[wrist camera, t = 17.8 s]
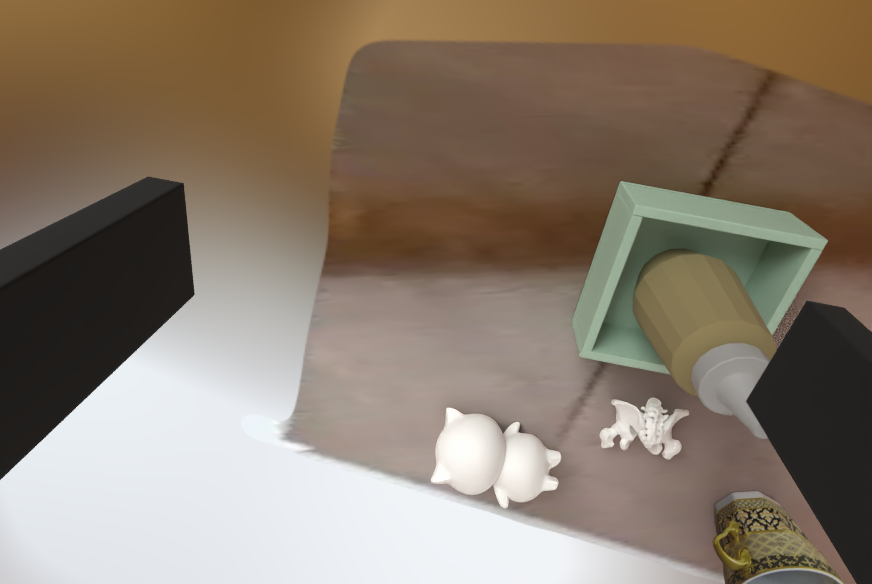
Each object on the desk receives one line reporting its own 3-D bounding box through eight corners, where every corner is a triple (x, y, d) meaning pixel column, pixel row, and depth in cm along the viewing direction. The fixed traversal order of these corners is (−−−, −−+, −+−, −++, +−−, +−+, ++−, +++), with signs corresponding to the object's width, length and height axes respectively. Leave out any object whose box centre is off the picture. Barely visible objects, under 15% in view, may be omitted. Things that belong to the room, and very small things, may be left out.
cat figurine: (560, 518, 47) (435, 484, 46) (520, 521, 57) (415, 493, 56) (569, 424, 51) (454, 391, 50) (530, 442, 61) (433, 414, 60)
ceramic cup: (816, 506, 56) (873, 598, 47) (743, 550, 60) (783, 642, 52) (725, 453, 53) (768, 540, 45) (656, 503, 58) (683, 591, 50)
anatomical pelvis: (598, 460, 51) (618, 414, 47) (593, 427, 54) (611, 382, 50) (680, 474, 50) (707, 429, 47) (669, 439, 54) (694, 395, 50)
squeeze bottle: (653, 333, 47) (727, 499, 31) (604, 270, 44) (660, 416, 29) (740, 286, 44) (873, 445, 28) (694, 215, 41) (811, 347, 25)
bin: (620, 180, 41) (635, 204, 36) (790, 212, 41) (828, 240, 36) (571, 321, 48) (579, 357, 43) (716, 348, 47) (741, 388, 43)
